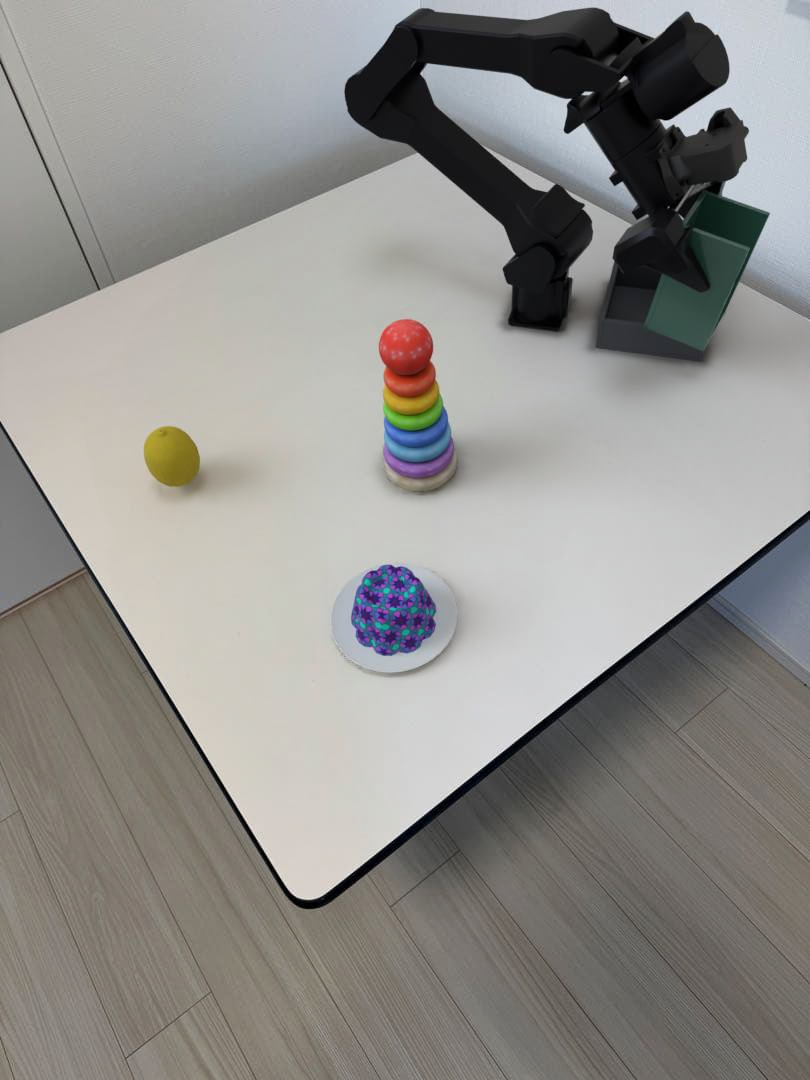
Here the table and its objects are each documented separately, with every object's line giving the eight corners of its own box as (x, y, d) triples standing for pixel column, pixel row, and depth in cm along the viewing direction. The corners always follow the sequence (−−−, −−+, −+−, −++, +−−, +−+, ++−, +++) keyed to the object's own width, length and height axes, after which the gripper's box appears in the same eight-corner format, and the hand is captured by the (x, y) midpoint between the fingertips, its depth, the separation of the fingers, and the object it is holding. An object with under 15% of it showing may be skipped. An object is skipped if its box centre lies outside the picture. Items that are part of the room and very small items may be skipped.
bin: (595, 347, 97) (598, 320, 94) (611, 285, 104) (615, 258, 101) (701, 361, 94) (708, 334, 91) (710, 296, 101) (718, 269, 98)
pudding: (315, 664, 75) (305, 636, 71) (350, 559, 82) (342, 527, 78) (444, 686, 73) (441, 658, 68) (468, 576, 79) (467, 544, 75)
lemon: (167, 508, 88) (142, 458, 81) (152, 475, 91) (127, 424, 84) (215, 488, 89) (194, 437, 83) (199, 456, 92) (177, 404, 86)
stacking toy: (466, 447, 89) (462, 306, 74) (445, 502, 85) (435, 364, 70) (399, 434, 92) (381, 294, 77) (374, 487, 87) (350, 349, 72)
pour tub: (643, 327, 91) (679, 225, 80) (666, 291, 94) (703, 189, 83) (703, 351, 89) (748, 250, 78) (724, 314, 92) (770, 212, 81)
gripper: (669, 145, 69) (761, 291, 74) (739, 50, 78) (817, 187, 83) (572, 206, 78) (660, 333, 83) (645, 116, 87) (720, 235, 92)
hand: (717, 270), depth 85 cm, fingers closed on pour tub, 7 cm apart
